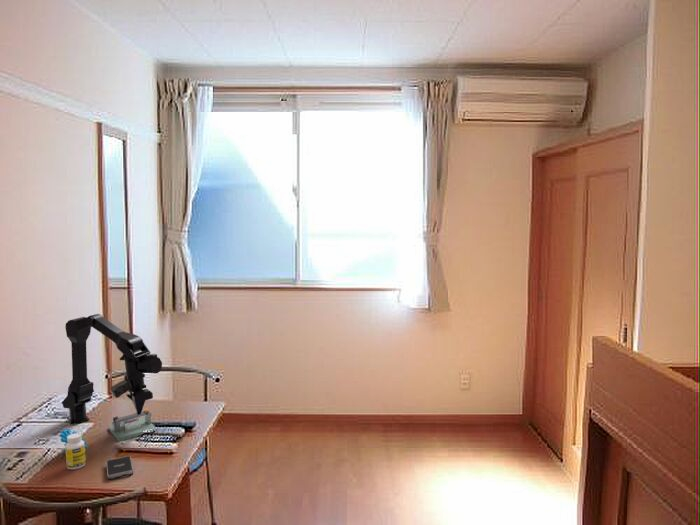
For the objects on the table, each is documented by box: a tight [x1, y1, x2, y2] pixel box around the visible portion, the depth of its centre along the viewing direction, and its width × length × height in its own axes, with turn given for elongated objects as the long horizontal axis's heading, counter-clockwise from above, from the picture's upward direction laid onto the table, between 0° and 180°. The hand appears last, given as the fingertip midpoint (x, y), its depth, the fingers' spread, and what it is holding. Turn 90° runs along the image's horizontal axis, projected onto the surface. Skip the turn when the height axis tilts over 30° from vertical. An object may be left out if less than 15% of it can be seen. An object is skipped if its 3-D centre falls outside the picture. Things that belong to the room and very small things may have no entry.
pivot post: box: [111, 416, 121, 432], centre depth 195 cm, size 4×2×6 cm, turn 36°
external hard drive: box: [106, 455, 134, 481], centre depth 167 cm, size 7×11×2 cm, turn 25°
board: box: [108, 416, 157, 442], centre depth 198 cm, size 14×13×1 cm
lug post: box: [144, 411, 152, 424], centre depth 201 cm, size 4×1×6 cm, turn 36°
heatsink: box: [121, 417, 140, 431], centre depth 198 cm, size 6×5×3 cm
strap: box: [116, 407, 150, 422], centre depth 198 cm, size 11×2×2 cm, turn 126°
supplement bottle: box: [64, 432, 87, 470], centre depth 171 cm, size 5×5×10 cm
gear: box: [59, 429, 89, 454], centre depth 182 cm, size 11×6×10 cm
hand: (139, 413), depth 199 cm, fingers closed, pressing on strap
